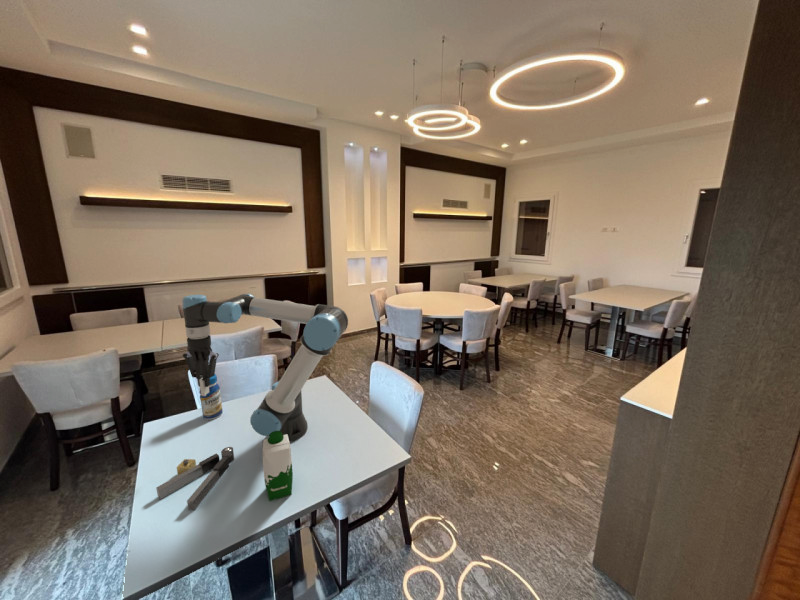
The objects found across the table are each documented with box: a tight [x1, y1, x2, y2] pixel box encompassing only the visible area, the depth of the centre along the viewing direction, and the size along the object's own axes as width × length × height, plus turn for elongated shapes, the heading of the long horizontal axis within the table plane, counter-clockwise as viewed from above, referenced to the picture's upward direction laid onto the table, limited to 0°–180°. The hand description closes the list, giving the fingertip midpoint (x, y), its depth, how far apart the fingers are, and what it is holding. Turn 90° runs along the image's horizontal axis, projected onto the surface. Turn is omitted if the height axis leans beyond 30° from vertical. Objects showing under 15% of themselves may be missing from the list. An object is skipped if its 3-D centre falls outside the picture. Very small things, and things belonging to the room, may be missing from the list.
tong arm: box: [155, 453, 221, 500], centre depth 109 cm, size 19×2×4 cm, turn 146°
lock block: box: [176, 458, 197, 476], centre depth 112 cm, size 4×4×5 cm
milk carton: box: [261, 431, 294, 502], centre depth 104 cm, size 9×9×20 cm
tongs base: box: [186, 446, 235, 511], centre depth 109 cm, size 24×4×5 cm, turn 178°
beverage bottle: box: [199, 373, 224, 421], centre depth 146 cm, size 8×8×20 cm
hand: (205, 393), depth 121 cm, fingers closed
